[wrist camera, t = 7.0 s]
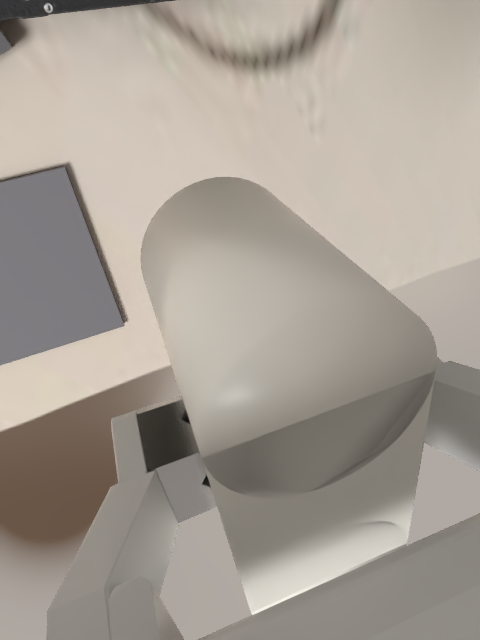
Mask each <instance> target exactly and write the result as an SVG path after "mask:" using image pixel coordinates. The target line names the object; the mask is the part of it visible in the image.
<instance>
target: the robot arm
mask: <svg viewBox="0 0 480 640" xmlns="http://www.w3.org/2000/svg"><path fill="white" fill-rule="evenodd" d="M111 428H112V436H113V444H114V452H115V460H116V468H117V476H118V484H116V485H114V486H111V488H110V490H109V492H108V494H107V496H106V497H105V500H104V501H103V503H102V505H101V507H100V509H99V511H98V513H97V515H96V517H95V519H94V521H93V523H92V525H91V527H90V529H89V531H88V533H87V535H86V537H85V539H84V541H83V543H82V544H81V546H80V549H79V550H78V552H77V554H76V556H75V558H74V560H73V562H72V564H71V566H70V568H69V570H68V572H67V574H66V576H65V578H64V580H63V582H62V584H61V586H60V588H59V590H58V592H57V594H56V595H55V598H54V599H53V601H52V603H51V605H50V607H49V609H48V611H47V640H184V639H183V636H182V634H181V633H180V631H179V629H178V628H177V626H176V624H175V622H174V621H173V619H172V617H171V616H170V614H169V612H168V611H167V609H166V607H165V605H164V604H163V602H162V600H161V599H160V597H159V595H160V592H161V589H162V585H163V582H164V577H165V574H166V571H167V567H168V564H169V560H170V556H171V553H172V549H173V546H174V542H175V539H176V535H177V532H178V528H179V524H178V523H180V522H182V521H184V520H187V519H189V518H191V517H194V516H196V515H198V514H201V513H203V512H205V511H207V510H210V509H212V508H215V507H217V505H216V502H215V499H214V496H213V492H212V489H211V486H210V483H209V480H208V477H207V474H206V471H205V467H204V464H203V461H202V458H201V455H200V452H199V449H198V446H197V442H196V439H195V436H194V433H193V430H192V427H191V424H190V421H189V418H188V415H187V412H186V408H185V405H184V402H183V399H182V396H179V397H176V398H172V399H169V400H166V401H163V402H160V403H157V404H154V405H150V406H148V407H144V408H141V409H138V410H136V411H134V412H130V413H127V414H124V415H121V416H118V417H114V418H112V422H111ZM424 443H426V444H428V445H430V446H432V447H434V448H436V449H438V450H440V451H441V452H443V453H445V454H447V455H449V456H451V457H453V458H455V459H457V460H458V461H460V462H462V463H464V464H466V465H468V466H470V467H472V468H473V469H475V470H477V471H479V472H480V370H479V369H475V368H472V367H469V366H465V365H462V364H459V363H455V362H452V361H448V362H445V363H444V362H442V361H441V360H440V359H439V358H438V357H437V366H436V374H435V380H434V386H433V392H432V398H431V404H430V410H429V416H428V422H427V428H426V434H425V440H424ZM198 640H480V513H479V514H477V515H475V516H473V517H470V518H468V519H466V520H464V521H462V522H459V523H457V524H455V525H452V526H450V527H448V528H446V529H444V530H441V531H439V532H437V533H435V534H432V535H430V536H428V537H426V538H423V539H421V540H419V541H417V542H414V543H412V544H410V545H408V546H406V547H403V548H401V549H399V550H397V551H394V552H392V553H390V554H388V555H385V556H383V557H381V558H379V559H376V560H374V561H372V562H370V563H368V564H365V565H363V566H361V567H359V568H356V569H354V570H352V571H350V572H347V573H345V574H343V575H341V576H338V577H336V578H334V579H332V580H330V581H327V582H325V583H323V584H321V585H318V586H316V587H314V588H312V589H309V590H307V591H305V592H303V593H300V594H298V595H296V596H294V597H292V598H289V599H287V600H285V601H283V602H280V603H278V604H276V605H274V606H271V607H269V608H267V609H265V610H263V611H260V612H258V613H256V614H254V615H251V616H249V617H247V618H245V619H243V620H240V621H238V622H236V623H234V624H231V625H229V626H227V627H225V628H222V629H220V630H218V631H216V632H213V633H212V634H209V635H207V636H205V637H202V638H200V639H198Z"/></svg>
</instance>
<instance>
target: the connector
mask: <svg viewBox="0 0 480 640" xmlns="http://www.w3.org/2000/svg"><path fill="white" fill-rule="evenodd" d="M141 269H142V274H143V278H144V281H145V284H146V287H147V290H148V294H149V297H150V300H151V303H152V306H153V309H154V312H155V315H156V318H157V322H158V325H159V328H160V331H161V334H162V337H163V340H164V343H165V347H166V350H167V353H168V356H169V359H170V362H171V365H172V368H173V372H174V375H175V378H176V381H177V384H178V387H179V390H180V393H181V396H182V399H183V402H184V405H185V408H186V412H187V415H188V418H189V421H190V424H191V427H192V430H193V433H194V436H195V439H196V442H197V446H198V449H199V452H200V455H201V458H202V461H203V464H204V467H205V471H206V474H207V477H208V480H209V483H210V486H211V489H212V492H213V496H214V499H215V502H216V505H217V508H218V512H219V514H220V518H221V521H222V524H223V527H224V530H225V533H226V536H227V539H228V543H229V546H230V549H231V552H232V555H233V558H234V561H235V564H236V567H237V570H238V573H239V577H240V580H241V583H242V586H243V589H244V592H245V595H246V598H247V602H248V604H249V608H250V611H251V613H252V615H254V614H256V613H258V612H260V611H263V610H265V609H267V608H269V607H271V606H274V605H276V604H278V603H280V602H283V601H285V600H287V599H289V598H292V597H294V596H296V595H298V594H300V593H303V592H305V591H307V590H309V589H312V588H314V587H316V586H318V585H321V584H323V583H325V582H327V581H330V580H332V579H334V578H336V577H338V576H341V575H343V574H345V573H347V572H350V571H352V570H354V569H356V568H359V567H361V566H363V565H365V564H368V563H370V562H372V561H374V560H376V559H379V558H381V557H383V556H385V555H388V554H390V553H392V552H394V551H397V550H399V549H401V548H403V547H406V546H407V541H408V535H409V529H410V523H411V517H412V511H413V505H414V499H415V493H416V487H417V481H418V475H419V469H420V464H421V458H422V451H423V445H424V440H425V434H426V428H427V422H428V416H429V410H430V404H431V398H432V392H433V386H434V380H435V374H436V366H437V350H436V345H435V341H434V337H433V335H432V333H431V331H430V329H429V327H428V326H427V325H426V324H425V323H424V321H423V320H422V319H421V318H420V317H419V316H417V315H416V314H415V313H414V312H413V311H412V310H410V309H409V308H408V307H407V306H406V305H404V304H403V303H402V302H401V301H400V300H398V299H397V298H396V297H395V296H394V295H392V294H391V293H390V292H389V291H388V290H386V289H385V288H384V287H383V286H382V285H380V284H379V283H378V282H377V281H376V280H374V279H373V278H372V277H371V276H370V275H368V274H367V273H366V272H365V271H364V270H362V269H361V268H360V267H359V266H358V265H356V264H355V263H354V262H353V261H352V260H350V259H349V258H348V257H347V256H346V255H345V254H343V253H342V252H341V251H340V250H339V249H337V248H336V247H335V246H334V245H333V244H331V243H330V242H329V241H328V240H327V239H325V238H324V237H323V236H322V235H321V234H319V233H318V232H317V231H316V230H315V229H313V228H312V227H311V226H310V225H309V224H307V223H306V222H305V221H304V220H303V219H301V218H300V217H299V216H298V215H297V214H295V213H294V212H293V211H292V210H291V209H289V208H288V207H287V206H286V205H285V204H283V203H282V202H281V201H280V200H279V199H277V198H276V197H275V196H274V195H273V194H271V193H270V192H269V191H268V190H266V189H265V188H263V187H262V186H260V185H258V184H256V183H254V182H251V181H249V180H245V179H241V178H235V177H216V178H210V179H205V180H202V181H199V182H196V183H194V184H192V185H189V186H187V187H185V188H183V189H182V190H180V191H179V192H177V193H176V194H174V195H173V196H172V197H171V198H170V199H168V200H167V201H166V202H165V203H164V204H163V205H162V207H161V208H160V209H159V210H158V211H157V213H156V214H155V216H154V217H153V218H152V220H151V222H150V224H149V226H148V228H147V230H146V233H145V236H144V239H143V243H142V248H141Z"/></svg>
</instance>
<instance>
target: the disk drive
mask: <svg viewBox="0 0 480 640" xmlns="http://www.w3.org/2000/svg"><path fill="white" fill-rule="evenodd" d="M164 1H174V0H0V20H7V19H16V18H22V19H26V18H35V17H43V16H48V15H49V14H59V13H67V12H77V11H85V10H95V9H102V8H112V7H121V6H130V5H138V4H146V3H157V2H164Z"/></svg>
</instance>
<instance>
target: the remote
mask: <svg viewBox="0 0 480 640" xmlns="http://www.w3.org/2000/svg"><path fill="white" fill-rule="evenodd" d="M12 47H13V45H12V44H11V43H10V41H9V40H8V38H7V37H6V35H5V34H4V33H3V31H2V30H1V28H0V55H1V54H3V53H4V52H6V51H7V50H9V49H10V48H12Z"/></svg>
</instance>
